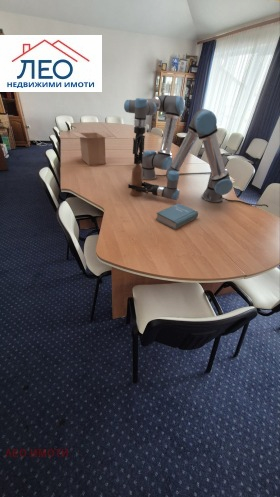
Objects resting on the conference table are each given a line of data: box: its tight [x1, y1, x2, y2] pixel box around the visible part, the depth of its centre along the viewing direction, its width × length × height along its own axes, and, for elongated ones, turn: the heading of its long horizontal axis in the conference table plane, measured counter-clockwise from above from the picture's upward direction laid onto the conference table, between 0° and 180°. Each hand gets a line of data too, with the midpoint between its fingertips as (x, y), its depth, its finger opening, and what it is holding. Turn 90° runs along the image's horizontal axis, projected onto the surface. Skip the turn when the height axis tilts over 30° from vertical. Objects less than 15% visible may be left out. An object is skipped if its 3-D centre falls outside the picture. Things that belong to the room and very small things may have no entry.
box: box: [70, 129, 114, 166], centre depth 229 cm, size 44×36×27 cm
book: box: [155, 203, 199, 230], centre depth 142 cm, size 23×16×5 cm
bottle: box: [130, 163, 144, 197], centre depth 165 cm, size 8×8×25 cm
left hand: (137, 162), depth 159 cm, fingers open, 6 cm apart
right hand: (131, 184), depth 170 cm, fingers closed on bottle, 8 cm apart
